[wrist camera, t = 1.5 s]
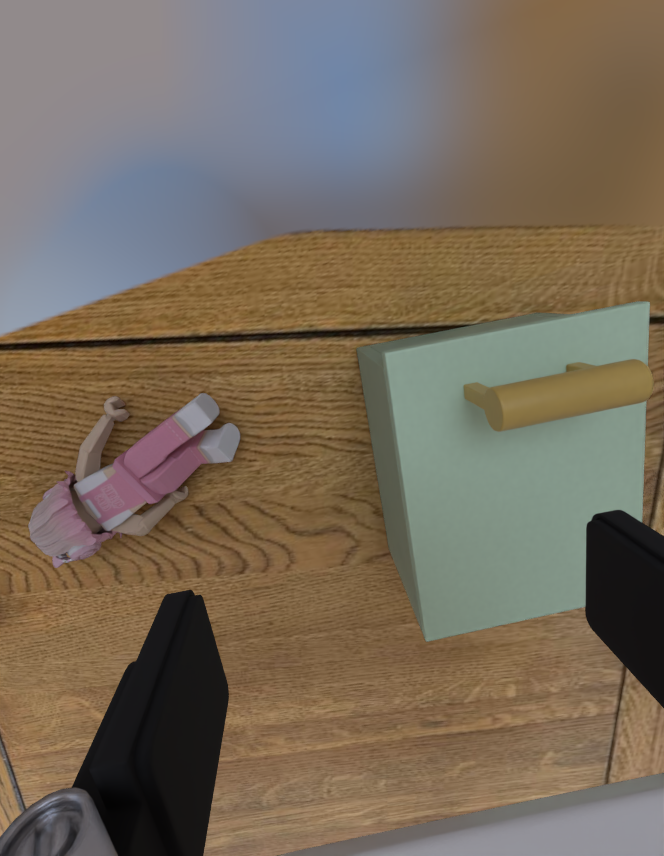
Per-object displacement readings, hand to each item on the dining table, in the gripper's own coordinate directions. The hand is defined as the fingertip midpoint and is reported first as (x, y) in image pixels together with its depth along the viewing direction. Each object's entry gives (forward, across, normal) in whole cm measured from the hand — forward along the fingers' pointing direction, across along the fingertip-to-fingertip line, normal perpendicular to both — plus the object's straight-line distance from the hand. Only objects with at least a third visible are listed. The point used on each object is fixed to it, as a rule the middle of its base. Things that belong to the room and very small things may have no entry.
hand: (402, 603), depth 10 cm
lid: (+12, -9, +4) cm, 15 cm away
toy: (+21, +14, +1) cm, 25 cm away
